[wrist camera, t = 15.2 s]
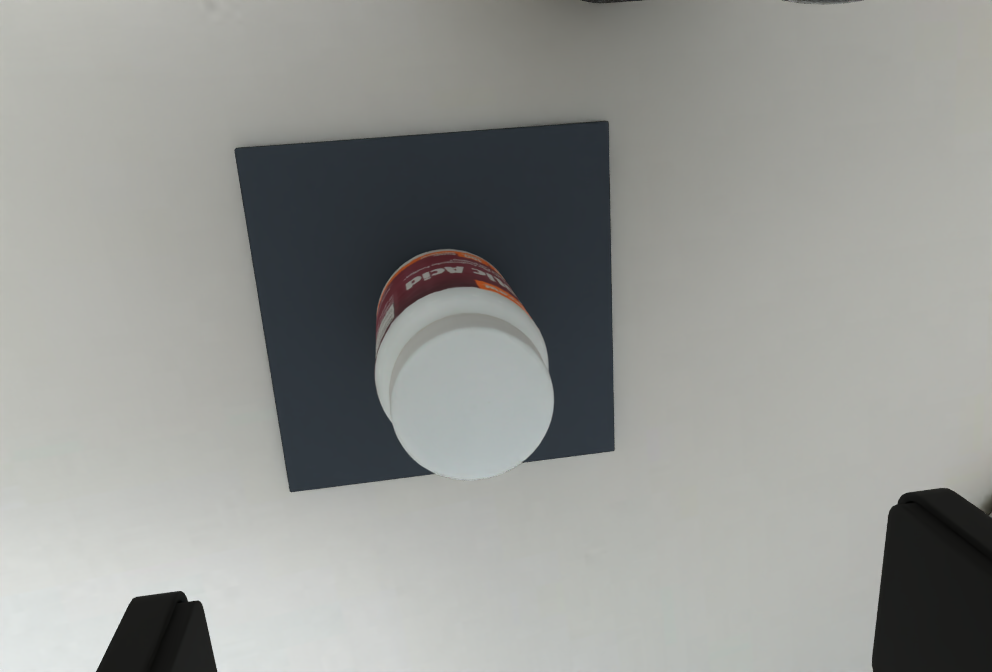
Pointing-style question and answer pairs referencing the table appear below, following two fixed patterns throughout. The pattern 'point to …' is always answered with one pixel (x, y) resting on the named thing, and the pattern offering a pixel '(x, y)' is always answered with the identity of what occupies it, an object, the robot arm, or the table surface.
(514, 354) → the pill bottle
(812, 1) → the drinking cup
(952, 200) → the table surface
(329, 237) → the mat
